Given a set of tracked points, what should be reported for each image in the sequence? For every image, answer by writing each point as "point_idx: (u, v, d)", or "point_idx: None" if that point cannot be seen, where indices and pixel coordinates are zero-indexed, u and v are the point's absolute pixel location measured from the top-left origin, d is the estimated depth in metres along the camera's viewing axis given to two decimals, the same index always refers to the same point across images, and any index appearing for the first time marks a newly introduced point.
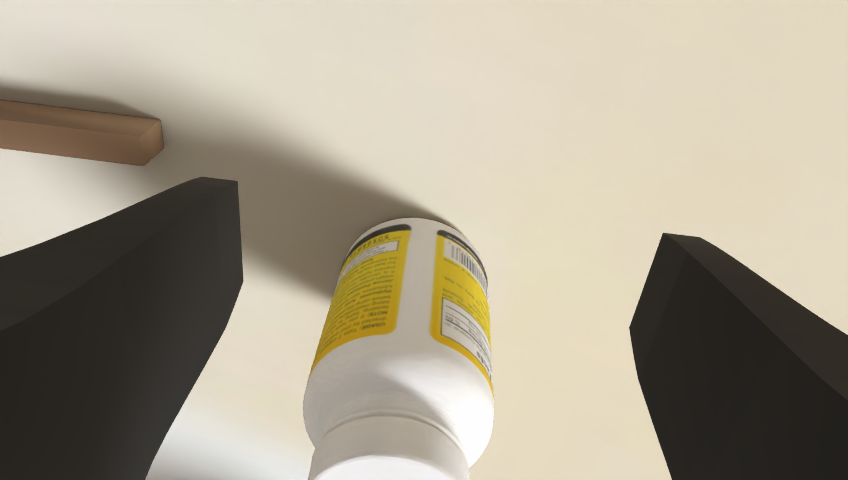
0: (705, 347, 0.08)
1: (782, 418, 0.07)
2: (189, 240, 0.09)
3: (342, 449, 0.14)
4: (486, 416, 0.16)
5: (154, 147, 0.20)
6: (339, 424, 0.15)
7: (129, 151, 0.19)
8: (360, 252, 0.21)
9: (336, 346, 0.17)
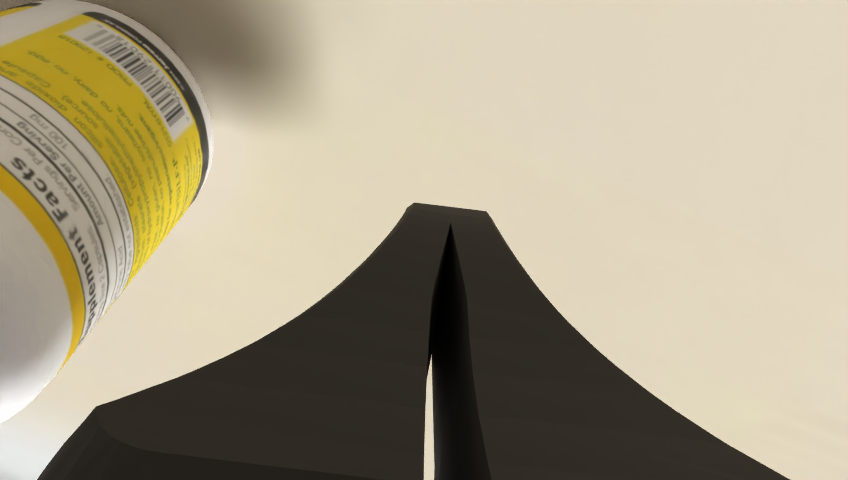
0: (449, 316, 0.08)
1: (459, 379, 0.07)
2: (441, 270, 0.09)
3: None
4: None
5: None
6: None
7: None
8: None
9: None
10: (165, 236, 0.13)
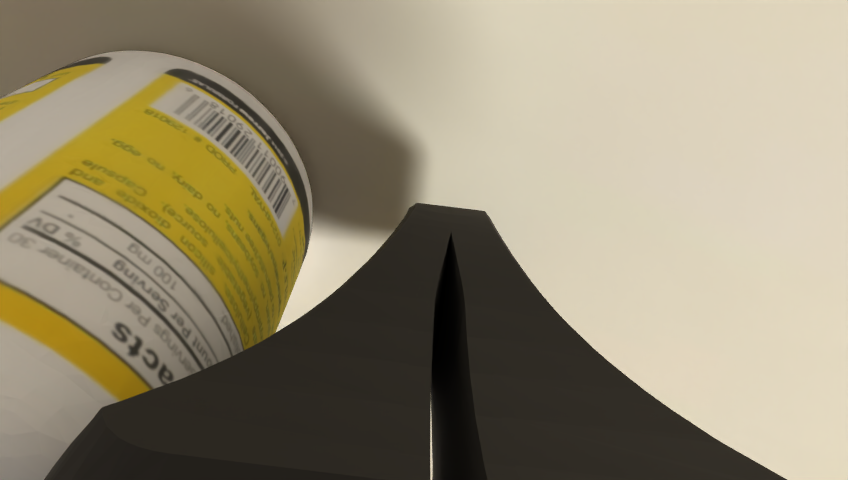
0: (447, 316, 0.08)
1: (457, 379, 0.07)
2: (443, 271, 0.09)
3: None
4: None
5: None
6: None
7: None
8: None
9: None
10: None
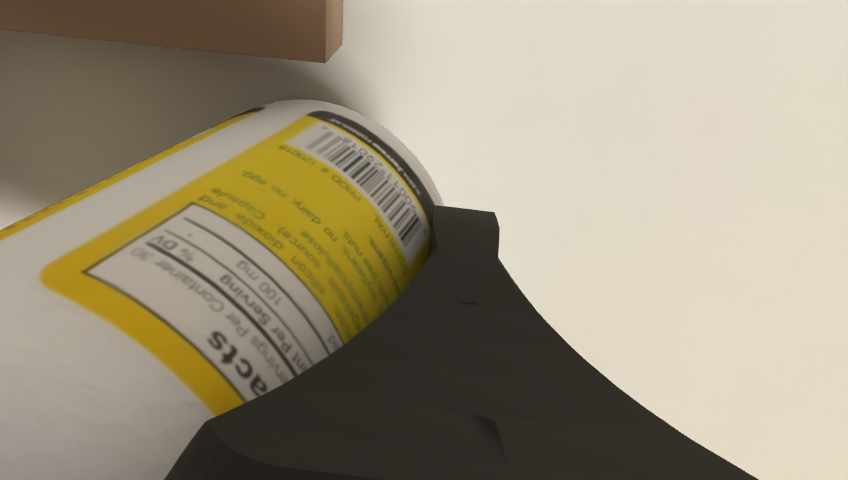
0: None
1: None
2: None
3: None
4: None
5: (335, 34, 0.10)
6: None
7: (301, 30, 0.10)
8: None
9: None
10: None
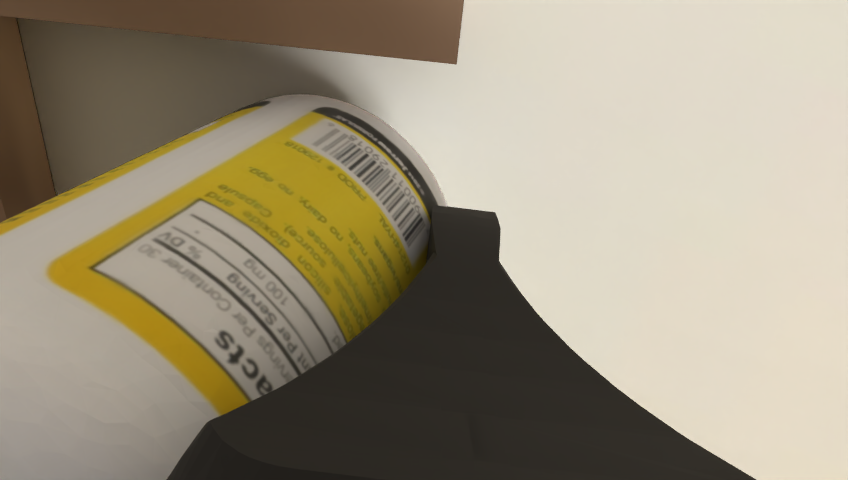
0: None
1: None
2: None
3: None
4: None
5: None
6: None
7: (435, 30, 0.09)
8: None
9: None
10: None
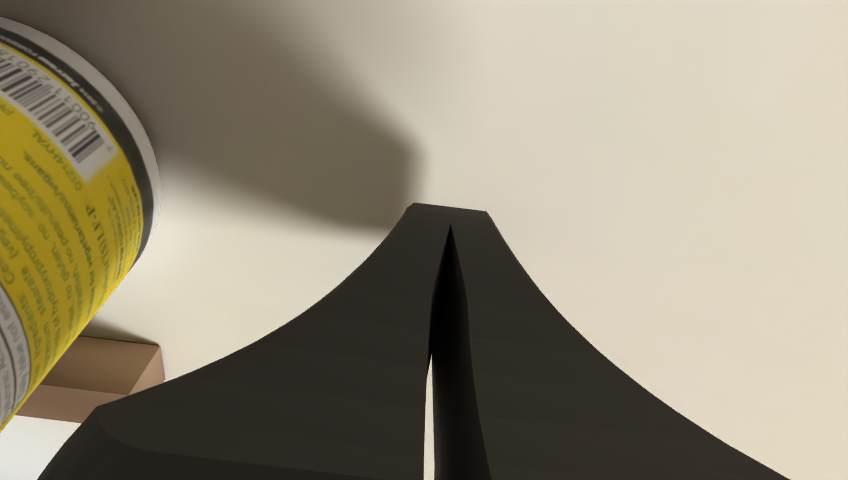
0: (449, 316, 0.08)
1: (459, 379, 0.07)
2: (441, 271, 0.09)
3: None
4: None
5: None
6: None
7: None
8: None
9: None
10: (100, 303, 0.10)
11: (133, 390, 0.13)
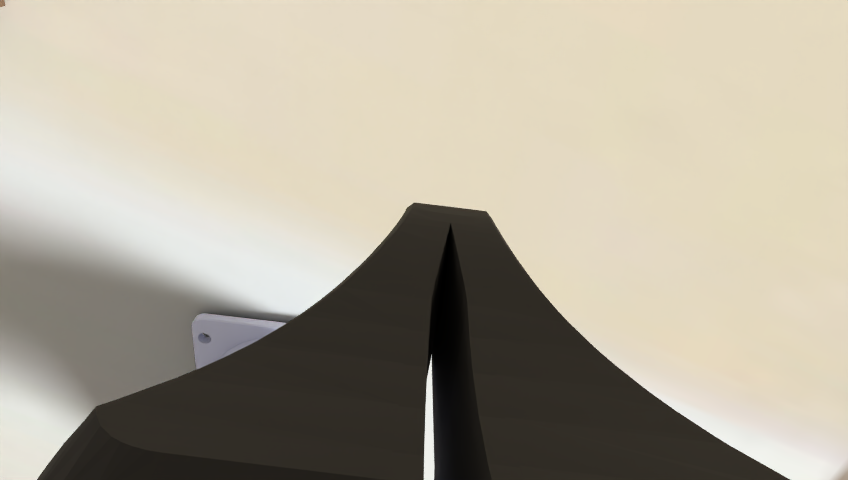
0: (449, 316, 0.08)
1: (459, 379, 0.07)
2: (441, 270, 0.09)
3: None
4: None
5: None
6: None
7: None
8: None
9: None
10: None
11: None
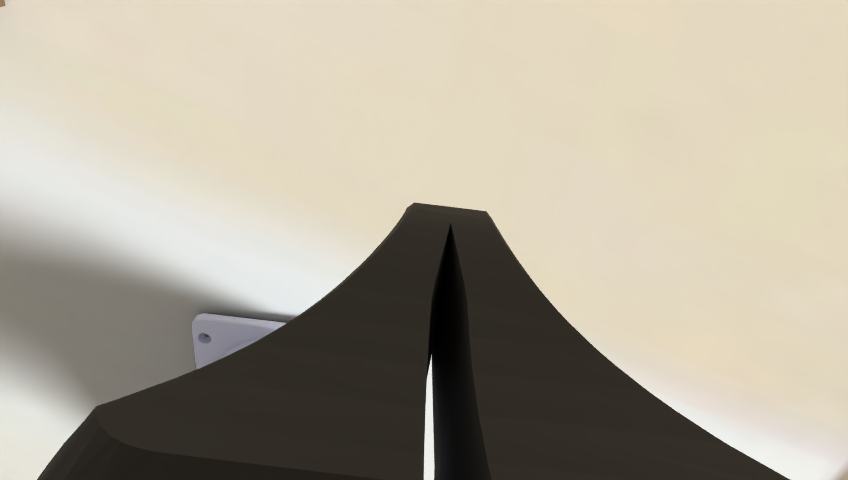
0: (449, 316, 0.08)
1: (459, 379, 0.07)
2: (441, 270, 0.09)
3: None
4: None
5: None
6: None
7: None
8: None
9: None
10: None
11: None
